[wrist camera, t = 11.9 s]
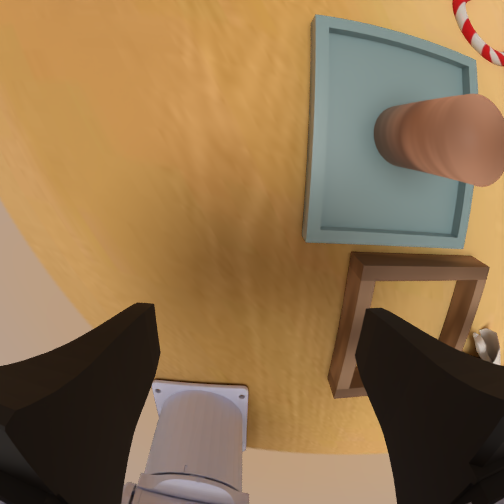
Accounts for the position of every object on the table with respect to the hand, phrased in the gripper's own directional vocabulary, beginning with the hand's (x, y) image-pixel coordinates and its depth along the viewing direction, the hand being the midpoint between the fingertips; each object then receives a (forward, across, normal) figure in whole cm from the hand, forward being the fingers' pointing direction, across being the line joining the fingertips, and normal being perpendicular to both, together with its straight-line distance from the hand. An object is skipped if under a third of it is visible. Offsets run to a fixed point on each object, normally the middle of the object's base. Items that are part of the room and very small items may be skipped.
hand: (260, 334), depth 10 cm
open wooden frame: (+10, -12, +6) cm, 17 cm away
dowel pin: (+10, -9, -8) cm, 15 cm away
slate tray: (+10, -9, -8) cm, 16 cm away
